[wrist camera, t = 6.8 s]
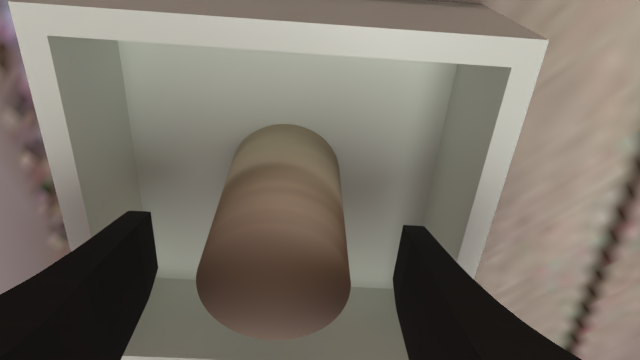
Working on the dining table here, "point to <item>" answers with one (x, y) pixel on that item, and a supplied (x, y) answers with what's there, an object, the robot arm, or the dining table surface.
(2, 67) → the dining table surface
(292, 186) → the birch cylinder
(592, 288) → the dining table surface
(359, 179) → the sage bin
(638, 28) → the dining table surface
